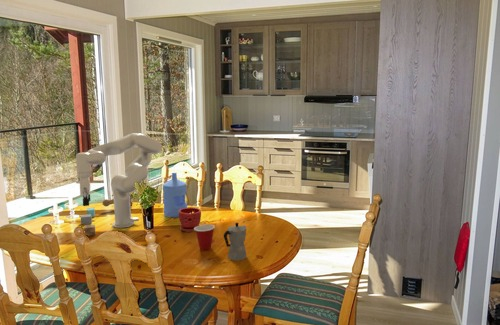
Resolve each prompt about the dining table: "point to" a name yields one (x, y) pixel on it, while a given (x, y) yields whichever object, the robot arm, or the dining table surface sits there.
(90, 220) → the base block
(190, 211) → the plant pot
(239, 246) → the coffeepot
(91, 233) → the walnut block
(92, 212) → the teal block
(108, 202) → the toy helicopter
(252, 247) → the dining table surface
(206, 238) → the plastic cup
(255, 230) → the dining table surface
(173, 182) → the water jug
